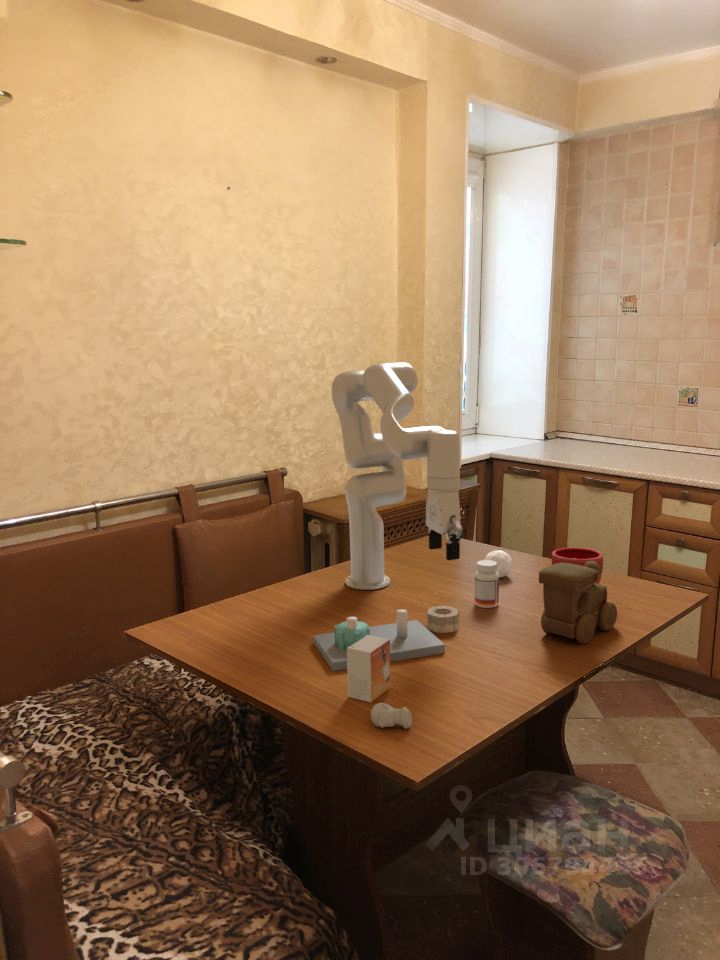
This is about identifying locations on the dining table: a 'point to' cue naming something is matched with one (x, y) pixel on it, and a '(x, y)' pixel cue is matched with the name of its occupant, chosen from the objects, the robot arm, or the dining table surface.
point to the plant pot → (578, 557)
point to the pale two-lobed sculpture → (390, 716)
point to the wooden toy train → (575, 601)
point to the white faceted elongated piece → (500, 562)
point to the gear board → (403, 637)
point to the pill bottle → (486, 584)
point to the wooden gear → (443, 619)
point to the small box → (368, 668)
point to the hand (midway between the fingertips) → (443, 553)
